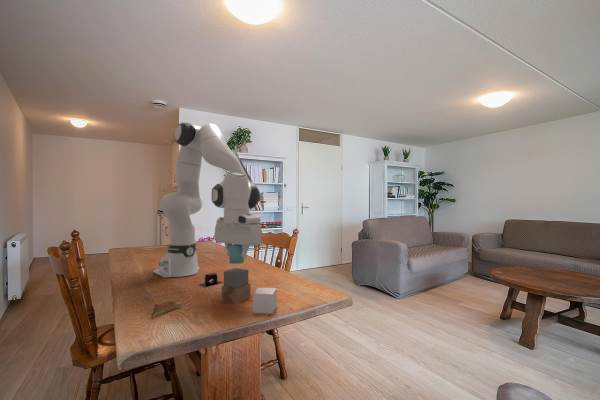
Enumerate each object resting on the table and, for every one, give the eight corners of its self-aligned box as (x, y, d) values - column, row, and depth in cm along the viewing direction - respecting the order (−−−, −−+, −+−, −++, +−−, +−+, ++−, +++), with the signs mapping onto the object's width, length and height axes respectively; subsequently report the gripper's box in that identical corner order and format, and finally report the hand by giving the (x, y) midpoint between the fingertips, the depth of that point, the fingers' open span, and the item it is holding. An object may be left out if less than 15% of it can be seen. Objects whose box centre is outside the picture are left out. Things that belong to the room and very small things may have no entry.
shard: (151, 320, 80) (151, 314, 80) (135, 315, 84) (135, 309, 84) (182, 307, 90) (182, 302, 90) (167, 304, 93) (167, 298, 93)
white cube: (276, 306, 90) (276, 288, 90) (272, 314, 84) (272, 294, 84) (258, 305, 90) (258, 287, 90) (253, 313, 84) (253, 293, 84)
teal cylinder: (226, 262, 96) (226, 245, 96) (236, 260, 101) (236, 243, 101) (236, 264, 94) (236, 246, 94) (246, 261, 98) (246, 244, 98)
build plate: (219, 280, 122) (219, 270, 122) (228, 283, 118) (228, 272, 118) (192, 286, 113) (193, 275, 113) (202, 290, 108) (202, 278, 108)
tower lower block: (221, 300, 96) (221, 285, 96) (236, 294, 102) (236, 281, 102) (236, 304, 92) (236, 289, 92) (250, 297, 98) (250, 283, 98)
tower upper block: (223, 285, 96) (223, 271, 96) (235, 281, 101) (235, 268, 101) (236, 288, 93) (236, 273, 93) (248, 283, 98) (248, 269, 98)
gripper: (210, 217, 100) (210, 255, 100) (251, 218, 89) (251, 261, 89) (223, 216, 106) (223, 252, 105) (264, 217, 95) (264, 258, 94)
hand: (236, 256), depth 97 cm, fingers closed on teal cylinder, 5 cm apart
